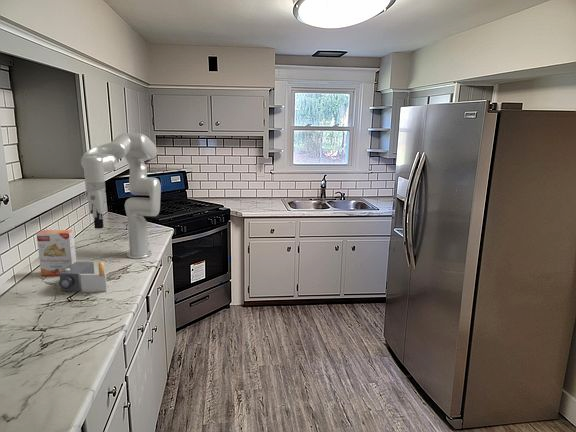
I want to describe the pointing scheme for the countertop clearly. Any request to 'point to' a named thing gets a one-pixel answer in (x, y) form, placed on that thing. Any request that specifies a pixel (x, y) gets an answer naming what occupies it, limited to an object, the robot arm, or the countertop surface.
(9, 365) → the countertop surface
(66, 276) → the block
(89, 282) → the grey blade tan handle
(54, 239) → the cracker box
